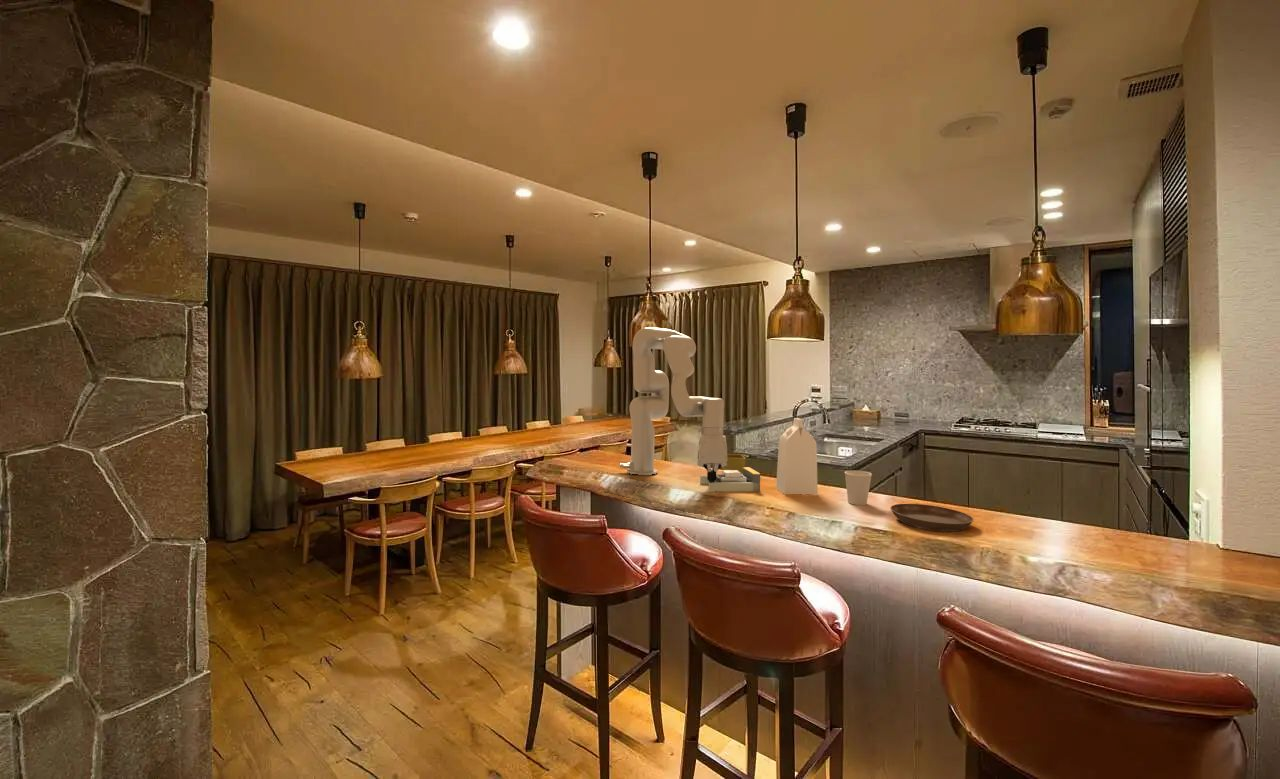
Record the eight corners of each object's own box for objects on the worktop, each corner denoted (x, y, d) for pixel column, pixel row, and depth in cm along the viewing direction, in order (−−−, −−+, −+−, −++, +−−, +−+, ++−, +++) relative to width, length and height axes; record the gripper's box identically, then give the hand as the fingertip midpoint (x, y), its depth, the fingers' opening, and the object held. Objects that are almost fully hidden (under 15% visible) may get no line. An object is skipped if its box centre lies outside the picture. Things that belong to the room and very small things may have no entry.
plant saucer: (979, 523, 151) (980, 512, 151) (964, 539, 135) (965, 526, 135) (902, 510, 164) (902, 500, 164) (880, 523, 149) (880, 511, 149)
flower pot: (745, 480, 205) (745, 457, 205) (722, 480, 206) (723, 457, 205) (741, 476, 214) (742, 454, 214) (719, 476, 214) (720, 454, 214)
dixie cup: (854, 506, 167) (855, 475, 166) (838, 500, 175) (839, 470, 175) (877, 505, 169) (878, 474, 169) (859, 499, 177) (860, 470, 177)
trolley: (718, 489, 188) (718, 473, 188) (714, 485, 195) (714, 469, 195) (746, 489, 189) (747, 473, 189) (741, 485, 196) (741, 469, 196)
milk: (817, 495, 182) (819, 420, 182) (784, 494, 183) (786, 419, 182) (807, 488, 194) (809, 417, 194) (776, 487, 195) (777, 417, 194)
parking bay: (708, 492, 184) (709, 474, 184) (699, 483, 199) (700, 466, 199) (760, 492, 186) (761, 474, 185) (747, 483, 201) (748, 466, 201)
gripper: (694, 432, 187) (693, 484, 187) (735, 433, 188) (734, 484, 189) (690, 430, 194) (689, 480, 195) (730, 431, 196) (729, 480, 196)
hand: (711, 482), depth 192 cm, fingers closed
